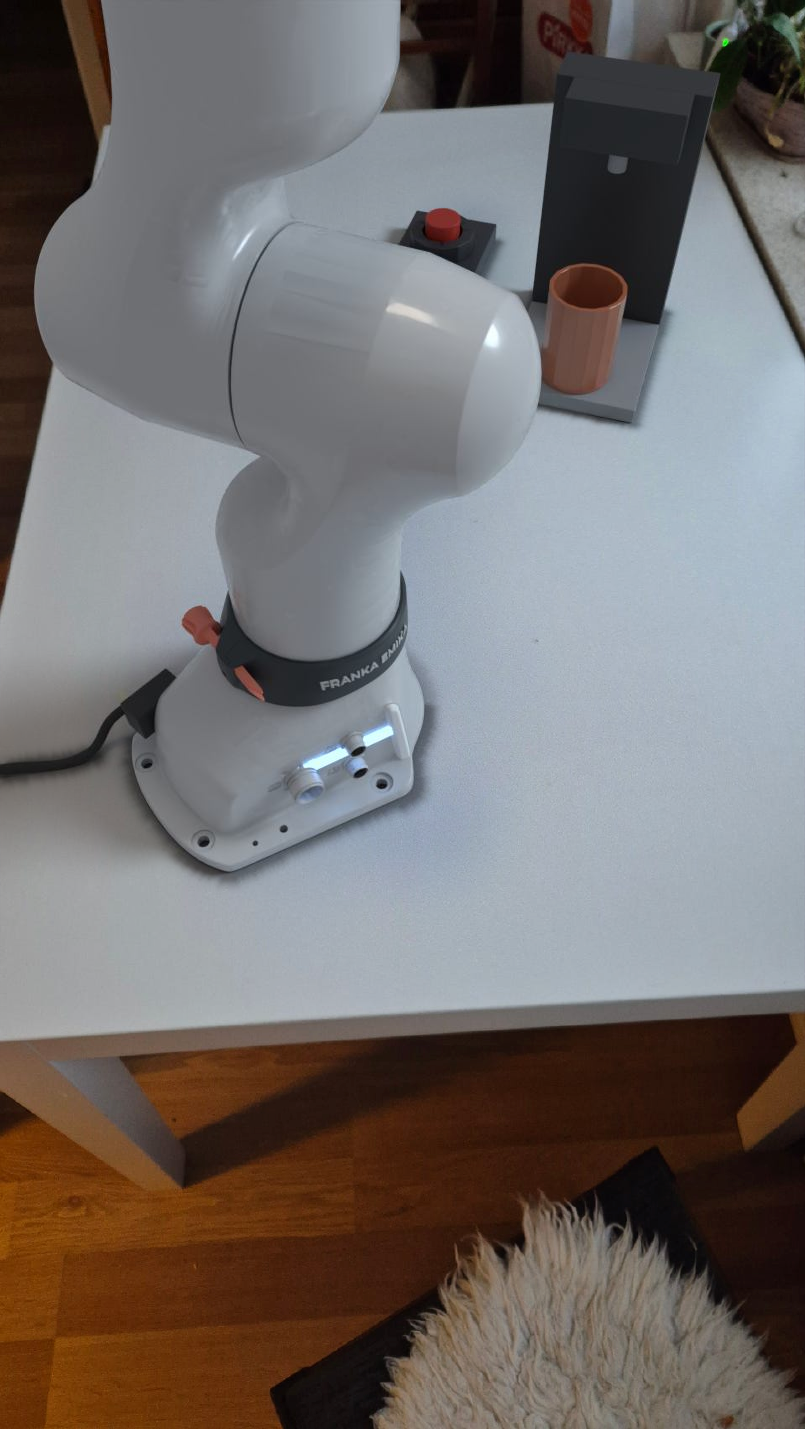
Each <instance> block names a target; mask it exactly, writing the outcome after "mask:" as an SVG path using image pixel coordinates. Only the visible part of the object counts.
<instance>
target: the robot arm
mask: <svg viewBox="0 0 805 1429" xmlns="http://www.w3.org/2000/svg"><path fill="white" fill-rule="evenodd" d="M401 2H402V1H401V0H100V3H101V9H102V16H103V22H104V30H105V38H106V45H107V52H108V59H109V67H110V68H109V69H110V83H111V97H112V98H111V113H110V114H111V116H110V120H111V121H110V127H109V133H108V134H109V135H108V140H107V141H108V142H107V146H106V151H105V154H104V159H103V161H102V165H101V168H100V170H99V172H98V174H97V176H96V178H95V180H94V182H93V184H92V185H91V186H90V187H89V188H88V189H87V191H86V192H84V193H83V194H82V195H81V196H80V197H78V198H77V199H76V200H75V201H73V202H72V203H70V205H69V206H68V207H67V208H66V209H65V210H64V211H63V212H62V214H61V215H60V216H59V217H58V219H57V220H56V221H55V222H54V223H53V226H52V227H51V229H50V230H49V232H48V233H47V236H46V239H45V241H44V243H43V245H42V247H41V250H40V253H39V256H38V260H37V263H36V267H35V268H36V269H35V275H34V289H33V300H34V311H35V316H36V321H37V326H38V330H39V333H40V336H41V339H42V340H41V341H42V342H43V344H44V347H45V349H46V352H47V355H48V356H49V358H50V361H51V362H52V363H53V365H54V366H55V368H56V369H57V370H58V371H59V373H60V374H61V375H63V376H64V377H65V379H67V380H69V381H70V382H72V383H74V384H75V385H77V386H79V387H80V388H83V389H84V390H86V391H87V392H89V393H90V394H93V395H94V396H96V397H98V398H100V399H102V400H103V401H105V402H107V403H109V404H110V405H113V406H115V407H117V408H118V409H120V410H122V411H124V412H126V413H128V414H130V415H132V416H133V417H135V418H138V419H140V420H142V421H145V422H147V423H151V424H154V425H158V426H161V427H164V428H168V429H171V430H175V431H179V432H182V433H185V434H189V435H191V436H196V437H199V438H202V439H206V440H209V441H212V442H215V443H220V444H223V445H226V446H230V447H232V448H237V449H239V450H243V451H247V452H251V453H252V454H254V455H256V456H259V457H257V458H255V459H254V460H252V461H251V462H249V463H248V464H247V465H246V466H244V467H243V468H241V470H240V471H239V472H237V474H236V475H235V476H234V477H233V479H232V480H231V481H230V482H229V484H228V485H227V486H226V489H225V491H224V492H223V494H222V496H221V499H220V501H219V505H218V509H217V513H216V519H215V523H214V524H215V525H214V535H215V541H216V546H217V549H218V553H219V557H220V563H221V565H222V569H223V574H224V579H225V582H226V586H227V591H226V595H225V598H224V603H223V607H222V610H221V615H220V617H219V618H220V619H219V621H218V620H215V619H214V617H213V614H212V613H211V611H210V610H209V608H207V607H206V606H203V605H196V606H193V607H191V608H190V609H188V610H187V611H186V612H185V613H184V614H183V617H182V619H181V626H182V627H183V629H184V630H185V631H186V633H188V634H189V635H190V636H192V638H193V641H194V642H195V644H197V646H198V645H199V646H203V647H202V648H201V649H200V650H199V651H198V652H197V654H195V656H194V657H193V658H192V659H191V660H190V661H189V663H188V664H186V666H185V667H184V668H183V669H182V670H181V671H180V673H179V674H177V676H176V675H175V674H173V673H172V672H171V671H170V670H169V669H168V668H164V669H162V670H161V671H160V672H159V673H157V674H156V675H155V676H154V677H152V678H151V679H150V680H149V681H147V682H146V683H145V684H143V685H142V686H141V687H139V688H138V689H137V690H135V691H134V692H133V693H132V694H130V695H129V696H127V698H125V699H124V700H122V701H121V702H120V703H119V706H117V707H116V708H115V709H113V710H112V711H111V712H110V713H109V714H108V715H107V716H106V717H105V719H104V720H103V722H102V724H101V725H100V727H99V729H98V732H97V734H96V736H95V737H94V739H93V741H92V742H91V744H90V745H89V746H88V747H87V748H86V749H84V750H82V751H80V752H78V753H75V754H73V755H70V756H68V757H67V756H66V757H63V758H58V759H50V760H38V761H37V760H35V761H31V760H30V761H17V762H16V761H15V762H6V763H0V775H5V774H13V773H24V772H25V773H26V772H47V771H57V770H63V769H67V768H70V767H74V766H77V765H80V764H82V763H84V762H86V761H87V760H89V759H91V758H93V757H94V756H95V755H96V754H97V753H98V752H99V751H100V750H101V749H102V747H103V745H104V744H105V742H106V740H107V738H108V736H109V733H110V731H111V730H112V728H113V726H114V725H115V723H117V722H118V720H120V719H121V718H122V717H123V716H125V718H126V720H127V722H128V725H129V726H130V727H131V728H132V729H134V730H135V731H136V732H135V734H134V735H133V737H132V743H131V758H132V760H131V761H132V766H133V770H134V774H135V778H136V781H137V783H138V786H139V788H140V791H141V793H142V795H143V797H144V800H145V801H146V803H147V804H148V806H149V808H150V809H151V811H152V813H153V814H154V815H155V817H156V819H157V820H158V821H159V823H160V824H161V825H162V826H163V828H164V829H165V830H166V832H167V833H168V834H169V835H170V836H171V838H173V840H174V841H175V842H176V843H177V844H178V845H179V846H180V847H181V848H182V849H184V850H185V851H186V852H187V853H188V854H190V855H191V856H192V857H194V858H196V859H197V860H198V861H200V862H202V863H204V864H205V865H208V866H209V867H212V868H214V869H217V870H221V871H223V872H235V871H238V870H240V869H243V868H245V867H247V866H249V865H251V864H254V863H256V862H259V861H261V860H264V859H266V858H267V857H270V856H272V855H274V854H277V853H279V852H281V851H283V850H286V849H288V848H290V847H292V846H295V845H297V844H299V843H301V842H304V841H307V840H308V839H310V838H313V837H315V836H318V835H320V834H323V833H324V832H327V831H329V830H330V829H334V828H335V827H337V826H340V825H342V824H344V823H346V822H349V821H350V820H353V819H356V818H358V817H360V816H362V815H365V814H367V813H369V812H371V811H373V810H376V809H378V808H380V807H382V806H385V805H387V804H390V803H392V802H394V801H396V800H398V799H401V798H402V797H404V796H406V795H407V794H408V793H410V792H411V791H412V788H413V786H414V781H415V780H414V779H415V778H414V777H415V775H414V774H415V773H414V762H413V761H414V760H413V754H414V750H415V746H416V744H417V742H418V739H419V737H420V734H421V731H422V728H423V723H424V718H425V699H424V695H423V694H424V693H423V690H422V687H421V684H420V682H419V679H418V677H417V676H416V674H415V672H414V670H413V669H412V667H411V664H410V661H409V657H408V654H407V649H406V640H407V635H408V629H409V611H408V608H409V607H408V595H407V585H406V581H405V580H406V579H405V577H404V575H403V571H402V570H401V559H402V556H401V555H402V545H403V544H402V543H403V534H404V529H405V527H406V524H407V522H408V521H409V519H410V518H412V516H414V515H415V514H416V513H419V511H422V510H423V509H425V508H426V507H428V506H431V505H433V504H436V503H438V502H441V501H444V500H445V501H446V500H449V499H450V500H451V499H455V498H460V497H465V496H467V495H469V494H471V493H473V492H475V491H477V490H478V489H480V488H481V487H483V486H484V485H486V484H487V483H489V482H490V481H492V480H493V479H494V478H495V477H496V476H497V475H498V474H500V472H502V471H503V469H504V468H505V467H506V466H507V465H508V464H509V463H510V462H511V461H512V460H513V458H514V457H515V455H516V454H517V452H519V450H520V448H521V447H522V445H523V443H524V441H525V440H526V438H527V436H528V434H529V432H530V429H531V428H532V425H533V422H534V419H535V416H536V413H537V410H538V405H539V404H538V402H539V397H540V390H541V376H542V371H541V356H540V350H539V344H538V339H537V336H536V333H535V329H534V326H533V324H532V321H531V319H530V317H529V314H528V310H527V308H526V306H525V305H524V303H523V301H522V300H521V297H520V296H519V295H518V294H517V293H515V292H513V291H511V290H509V289H507V288H505V287H503V286H501V285H499V284H497V283H495V282H494V281H491V280H490V279H487V278H486V277H484V276H479V275H478V274H476V273H474V272H471V271H469V270H467V269H465V268H463V267H460V266H458V265H456V264H454V263H452V262H450V261H447V260H445V259H443V258H441V257H439V256H437V255H434V254H432V253H430V252H426V251H421V250H417V249H413V248H409V247H404V246H400V245H399V244H397V243H396V244H395V243H392V242H387V241H383V240H378V239H374V238H370V237H366V236H362V235H357V234H353V233H349V232H345V231H340V230H337V229H332V228H328V227H323V226H319V225H315V224H310V223H309V222H307V221H305V220H302V219H299V218H298V217H295V216H294V215H293V213H292V211H291V209H290V207H289V204H288V202H287V198H286V192H285V176H287V175H290V174H294V173H296V172H299V171H301V170H304V169H307V168H310V167H312V166H314V165H316V164H319V163H321V162H323V161H325V160H327V159H328V158H330V157H332V156H334V155H336V154H337V153H339V152H340V151H342V150H344V149H346V148H347V147H348V146H350V145H351V144H352V143H354V142H355V141H356V140H358V139H359V138H360V137H362V135H363V134H364V133H365V132H366V131H367V130H368V129H369V128H370V127H371V126H372V125H373V123H374V122H375V120H376V119H377V117H378V116H379V114H380V113H381V111H382V110H383V108H384V106H385V104H386V103H387V100H388V98H389V96H390V94H391V92H392V89H393V85H394V83H395V79H396V76H397V72H398V69H399V64H400V60H401V58H400V57H401V56H400V55H401ZM148 764H152V765H151V766H150V767H148V768H145V766H147V765H148ZM380 784H383V785H386V787H385V788H379V787H378V786H379V785H380ZM204 841H207V842H209V843H208V844H207V845H206V846H201V843H202V842H204Z"/></svg>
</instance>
